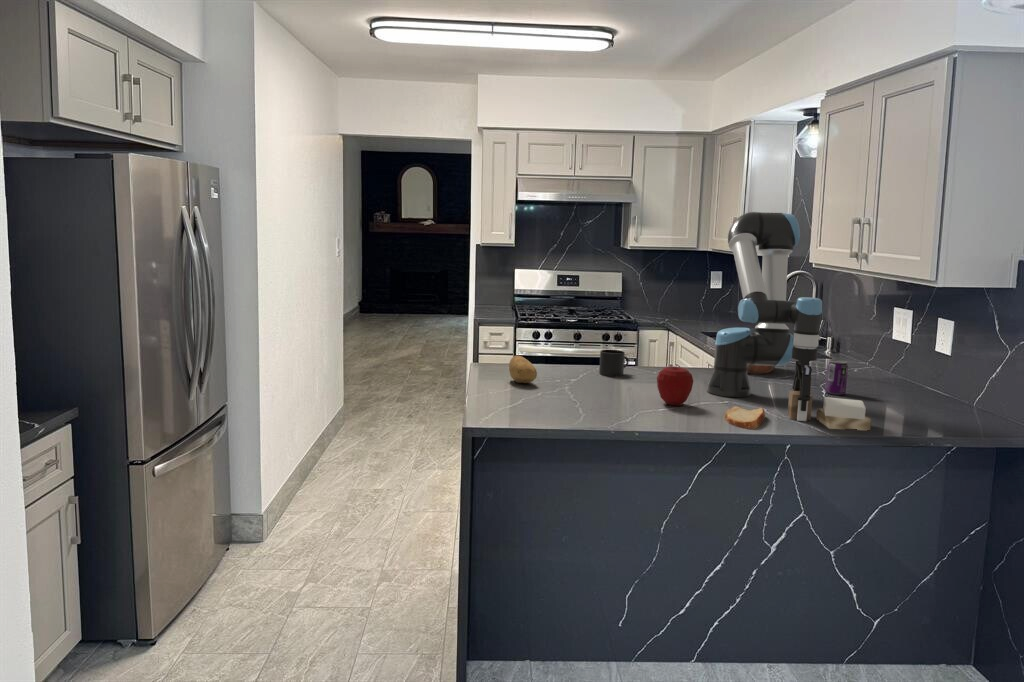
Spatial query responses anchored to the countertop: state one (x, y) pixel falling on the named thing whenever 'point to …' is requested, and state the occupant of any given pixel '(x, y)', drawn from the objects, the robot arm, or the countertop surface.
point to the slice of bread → (745, 417)
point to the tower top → (844, 408)
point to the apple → (674, 385)
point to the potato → (522, 370)
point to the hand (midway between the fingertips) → (798, 416)
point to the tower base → (842, 421)
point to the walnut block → (794, 405)
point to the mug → (612, 362)
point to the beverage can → (836, 377)
